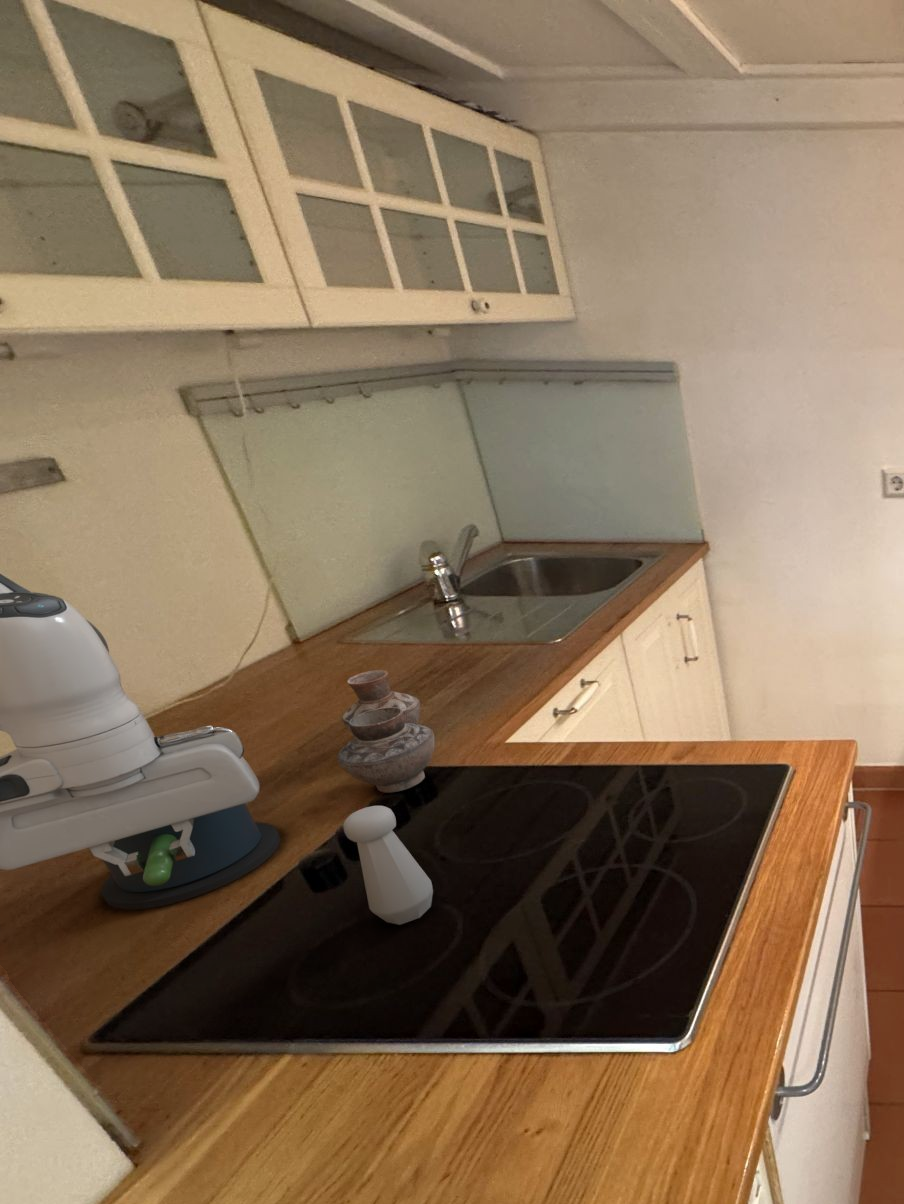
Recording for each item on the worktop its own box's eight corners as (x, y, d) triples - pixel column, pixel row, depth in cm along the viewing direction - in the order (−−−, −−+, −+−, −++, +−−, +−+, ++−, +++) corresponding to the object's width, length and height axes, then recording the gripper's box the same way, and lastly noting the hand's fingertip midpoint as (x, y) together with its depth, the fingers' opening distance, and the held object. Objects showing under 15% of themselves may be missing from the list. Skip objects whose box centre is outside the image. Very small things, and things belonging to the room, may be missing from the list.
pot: (122, 854, 94) (79, 784, 90) (264, 812, 102) (231, 746, 97) (92, 953, 78) (38, 875, 74) (263, 895, 86) (222, 821, 81)
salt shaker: (441, 915, 84) (399, 816, 78) (378, 938, 81) (330, 836, 75) (437, 888, 88) (397, 792, 82) (377, 908, 85) (331, 810, 79)
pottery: (432, 724, 127) (407, 657, 122) (452, 784, 109) (424, 709, 104) (349, 746, 121) (319, 677, 116) (356, 814, 103) (320, 735, 98)
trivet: (94, 930, 83) (89, 923, 83) (115, 862, 95) (111, 855, 94) (281, 869, 92) (277, 862, 92) (280, 813, 104) (277, 807, 103)
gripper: (231, 710, 85) (283, 815, 91) (-47, 774, 73) (33, 889, 79) (229, 730, 80) (283, 838, 86) (-68, 801, 69) (18, 920, 75)
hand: (161, 863), depth 83 cm, fingers open, 3 cm apart
